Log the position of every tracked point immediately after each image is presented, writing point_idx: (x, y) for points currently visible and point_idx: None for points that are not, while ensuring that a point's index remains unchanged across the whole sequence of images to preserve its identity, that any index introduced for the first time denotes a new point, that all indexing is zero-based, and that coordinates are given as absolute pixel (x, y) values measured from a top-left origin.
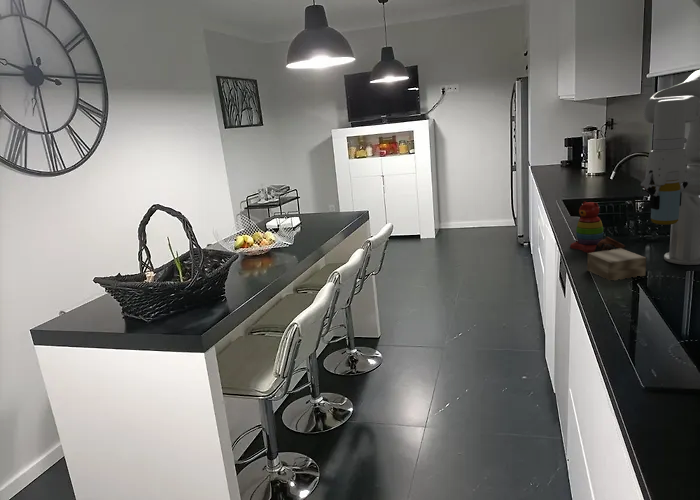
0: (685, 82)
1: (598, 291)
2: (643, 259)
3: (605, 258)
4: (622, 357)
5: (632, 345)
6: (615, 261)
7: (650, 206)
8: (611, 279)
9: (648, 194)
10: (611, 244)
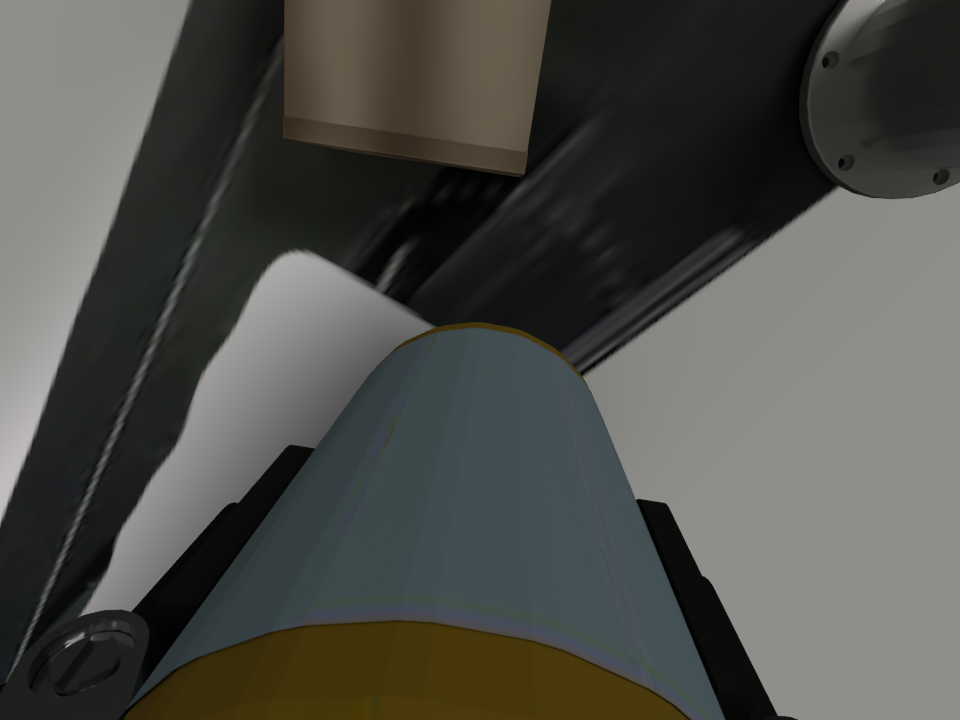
0: None
1: (199, 234)
2: (507, 171)
3: (311, 36)
4: (14, 626)
5: (68, 598)
6: (324, 132)
7: (283, 462)
8: (330, 148)
9: (79, 617)
10: None
